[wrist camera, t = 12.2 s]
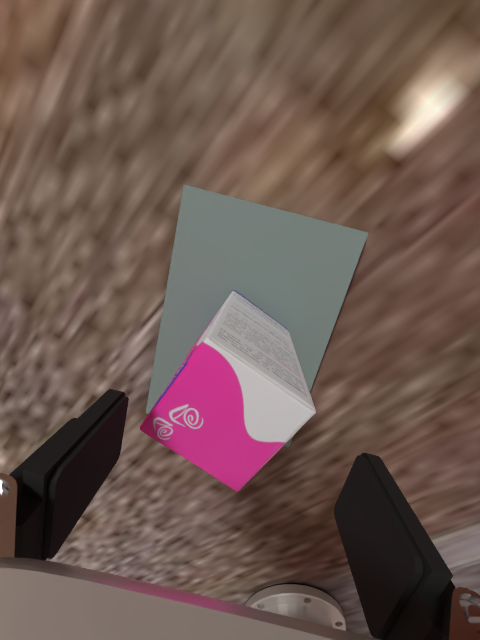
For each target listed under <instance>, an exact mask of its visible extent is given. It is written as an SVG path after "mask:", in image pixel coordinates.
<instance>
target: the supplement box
mask: <svg viewBox="0 0 480 640" xmlns="http://www.w3.org/2000/svg"><path fill="white" fill-rule="evenodd" d="M315 413H316V410H315V407H314V404H313V401H312V398H311V395H310V392H309V390H308V387H307V384H306V381H305V378H304V375H303V372H302V369H301V366H300V363H299V360H298V357H297V354H296V351H295V348H294V345H293V342H292V340H291V337H290V334H289V331H288V329H287V328H285V327H284V326H283V325H281V324H280V323H279V322H277V321H276V320H275V319H273V318H272V317H271V316H269V315H268V314H267V313H265V312H264V311H263V310H261V309H260V308H258V307H257V306H256V305H254V304H253V303H252V302H250V301H249V300H248V299H246V298H245V297H244V296H242V295H241V294H240V293H238V292H237V291H235V290H234V291H232V293H231V294H230V295H229V297H228V298H227V300H226V301H225V302H224V304H223V305H222V307H221V308H220V309H219V311H218V312H217V313H216V315H215V316H214V318H213V319H212V320H211V322H210V323H209V325H208V326H207V327H206V329H205V330H204V332H203V333H202V334H201V336H200V337H199V338H198V340H197V341H196V342H195V344H194V345H193V347H192V348H191V350H190V351H189V353H188V354H187V356H186V358H185V359H184V361H183V362H182V364H181V365H180V367H179V368H178V370H177V371H176V373H175V374H174V376H173V377H172V379H171V380H170V382H169V383H168V385H167V386H166V388H165V389H164V391H163V393H162V394H161V396H160V397H159V399H158V400H157V402H156V403H155V405H154V406H153V408H152V409H151V411H150V412H149V414H148V415H147V417H146V418H145V420H144V421H143V423H142V424H141V426H140V430H141V431H143V432H144V433H146V434H147V435H148V436H150V437H152V438H153V439H155V440H157V441H158V442H160V443H161V444H163V445H165V446H166V447H168V448H170V449H171V450H173V451H175V452H176V453H178V454H180V455H181V456H183V457H184V458H186V459H187V460H189V461H191V462H192V463H194V464H195V465H197V466H198V467H200V468H201V469H203V470H204V471H206V472H207V473H209V474H210V475H212V476H213V477H215V478H216V479H218V480H219V481H221V482H223V483H224V484H226V485H227V486H229V487H230V488H232V489H233V490H234V491H239V490H240V489H241V488H242V487H243V486H244V485H245V484H246V483H247V482H248V481H249V480H250V479H251V478H252V477H253V476H255V475H256V473H257V472H258V471H259V470H260V469H261V468H262V467H263V466H264V465H265V464H266V463H267V462H268V461H269V460H270V459H271V458H272V457H273V456H274V455H275V454H276V453H277V452H278V451H279V450H280V449H281V448H282V447H283V446H284V445H285V444H286V443H287V442H288V441H289V440H290V439H291V438H292V437H293V436H294V434H295V433H296V432H297V431H298V430H299V429H300V428H301V427H302V426H303V425H304V424H305V423H306V422H307V421H308V420H309V419H310V418H311V417H312V416H313V415H314V414H315Z"/></svg>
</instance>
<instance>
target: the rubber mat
mask: <svg viewBox="0 0 480 640" xmlns="http://www.w3.org/2000/svg"><path fill="white" fill-rule="evenodd" d="M367 236H368V233H367V232H364V231H360V230H356V229H352V228H348V227H344V226H341V225H337V224H333V223H329V222H325V221H322V220H318V219H314V218H310V217H306V216H302V215H299V214H295V213H291V212H287V211H283V210H279V209H276V208H272V207H268V206H264V205H260V204H257V203H253V202H249V201H245V200H241V199H237V198H234V197H230V196H226V195H222V194H218V193H214V192H211V191H207V190H203V189H199V188H195V187H192V186H188V185H184V187H183V193H182V199H181V205H180V211H179V217H178V223H177V229H176V235H175V241H174V247H173V253H172V259H171V265H170V271H169V277H168V283H167V289H166V294H165V300H164V306H163V312H162V318H161V324H160V330H159V336H158V342H157V348H156V354H155V360H154V366H153V372H152V378H151V384H150V390H149V396H148V402H147V408H146V413H148V414H149V412H150V411H151V409H152V408H153V406H154V405H155V403H156V402H157V400H158V399H159V397H160V396H161V394H162V393H163V391H164V389H165V388H166V386H167V385H168V383H169V382H170V380H171V379H172V377H173V376H174V374H175V373H176V371H177V370H178V368H179V367H180V365H181V364H182V362H183V361H184V359H185V358H186V356H187V354H188V353H189V351H190V350H191V348H192V347H193V345H194V344H195V342H196V341H197V340H198V338H199V337H200V336H201V334H202V333H203V332H204V330H205V329H206V327H207V326H208V325H209V323H210V322H211V320H212V319H213V318H214V316H215V315H216V313H217V312H218V311H219V309H220V308H221V307H222V305H223V304H224V302H225V301H226V300H227V298H228V297H229V295H230V294H231V293H232V291H234V290H235V291H237V292H238V293H240V294H241V295H242V296H244V297H245V298H246V299H248V300H249V301H250V302H252V303H253V304H254V305H256V306H257V307H258V308H260V309H261V310H263V311H264V312H265V313H267V314H268V315H269V316H271V317H272V318H273V319H275V320H276V321H277V322H279V323H280V324H281V325H283V326H284V327H285V328H287V329H288V331H289V334H290V337H291V340H292V342H293V345H294V348H295V351H296V354H297V357H298V360H299V363H300V366H301V369H302V372H303V375H304V378H305V381H306V384H307V387H308V390H309V392H310V390H311V387H312V385H313V382H314V379H315V377H316V374H317V371H318V368H319V366H320V363H321V360H322V358H323V355H324V352H325V349H326V347H327V344H328V341H329V339H330V336H331V333H332V330H333V328H334V325H335V322H336V320H337V317H338V314H339V311H340V309H341V306H342V303H343V301H344V298H345V295H346V292H347V290H348V287H349V284H350V282H351V279H352V276H353V273H354V271H355V268H356V265H357V263H358V260H359V257H360V254H361V252H362V249H363V246H364V244H365V241H366V238H367ZM292 439H293V437H292V438H291V439H290V440H289V441H288V442H287V443H286V444H285V445H284V446H285V447H290V444H291V442H292Z"/></svg>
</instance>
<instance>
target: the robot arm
mask: <svg viewBox="0 0 480 640" xmlns="http://www.w3.org/2000/svg"><path fill="white" fill-rule="evenodd" d="M128 400H129V399H128V397H125V393H124V392H121V391H117V390H113V389H109V390H108V391H107V392H106V393H104V394H103V395H102V396H101V397H100V398H99V399H98V400H97V401H96V402H95V403H94V404H93V405H92V406H91V407H89V408H88V409H87V410H86V411H85V412H84V413H83V414H82V415H81V416H80V417H79V418H78V419H77V418H73V419H71V420H70V421H68V422H67V423H66V424H65V425H64V426H63V427H62V428H60V429H59V430H58V431H57V432H56V433H55V434H54V435H53V436H52V437H50V438H49V439H48V440H47V441H46V442H45V443H44V444H43V445H42V446H41V447H39V448H38V449H37V450H36V451H35V452H34V453H33V454H32V455H31V456H29V457H28V458H27V459H26V460H25V461H24V462H23V463H22V464H21V465H20V466H18V467H17V468H16V469H15V470H14V471H13V472H12V473H11V474H10V475H7V474H2V473H0V640H480V595H479V594H478V593H476V592H475V591H473V590H470V589H468V588H465V587H457V588H455V586H454V585H453V583H452V581H451V578H452V577H453V575H452V573H451V572H450V570H449V569H448V567H447V565H446V564H445V562H444V560H443V559H442V557H441V556H440V554H439V552H438V551H437V549H436V547H435V546H434V544H433V542H432V541H431V539H430V538H429V536H428V534H427V533H426V531H425V529H424V528H423V526H422V525H421V523H420V521H419V520H418V518H417V516H416V515H415V513H414V512H413V510H412V508H411V507H410V505H409V503H408V502H407V500H406V499H405V497H404V495H403V494H402V492H401V490H400V489H399V487H398V486H397V484H396V482H395V481H394V479H393V477H392V476H391V474H390V473H389V471H388V469H387V468H386V466H385V464H384V463H383V461H382V460H381V458H380V457H379V456H376V455H372V454H368V453H362V454H361V456H360V455H359V456H357V457H356V459H355V461H354V464H353V466H352V468H351V471H350V473H349V475H348V477H347V480H346V482H345V484H344V487H343V489H342V491H341V493H340V496H339V498H338V500H337V502H336V505H335V509H334V515H335V519H336V523H337V526H338V529H339V532H340V536H341V539H342V542H343V546H344V549H345V552H346V555H347V559H348V562H349V565H350V569H351V572H352V575H353V578H354V582H355V585H356V588H357V592H358V595H359V598H360V601H361V605H362V608H363V611H364V615H365V618H366V621H367V624H368V628H369V630H370V633H371V635H372V636H373V637H374V638H372V637H368V636H364V635H360V634H356V633H352V632H348V631H346V624H345V619H344V614H343V612H342V609H341V607H340V606H339V604H338V603H337V602H336V601H335V600H334V599H333V598H332V597H331V596H329V595H328V594H326V593H325V592H323V591H321V590H318V589H316V588H313V587H309V586H306V585H298V584H282V585H275V586H272V587H268V588H265V589H263V590H261V591H259V592H257V593H256V594H254V595H253V596H252V597H251V598H250V599H249V600H248V601H247V602H246V604H245V605H244V606H243V605H239V604H235V603H231V602H227V601H223V600H218V599H214V598H210V597H206V596H202V595H198V594H194V593H189V592H185V591H181V590H177V589H173V588H168V587H164V586H160V585H156V584H151V583H147V582H143V581H139V580H135V579H130V578H126V577H122V576H118V575H113V574H109V573H104V572H99V571H95V570H90V569H85V568H81V567H76V566H71V565H67V564H62V563H57V562H50V561H45V560H46V559H47V558H50V559H52V558H53V557H54V556H55V555H56V553H57V552H58V550H59V549H60V547H61V546H62V544H63V543H64V541H65V540H66V538H67V537H68V535H69V534H70V532H71V531H72V529H73V528H74V526H75V525H76V523H77V522H78V520H79V519H80V517H81V515H82V514H83V512H84V511H85V509H86V508H87V506H88V505H89V503H90V502H91V500H92V499H93V497H94V496H95V494H96V493H97V491H98V490H99V488H100V487H101V485H102V484H103V482H104V481H105V479H106V478H107V476H108V474H109V473H110V471H111V470H112V468H113V467H114V465H115V464H116V462H117V460H118V458H119V455H120V452H121V445H122V439H123V432H124V426H125V420H126V413H127V407H128Z"/></svg>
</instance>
